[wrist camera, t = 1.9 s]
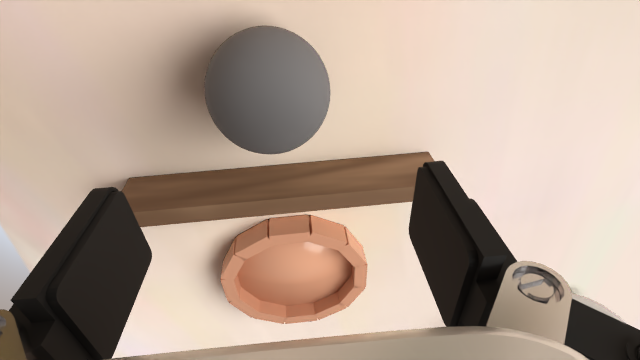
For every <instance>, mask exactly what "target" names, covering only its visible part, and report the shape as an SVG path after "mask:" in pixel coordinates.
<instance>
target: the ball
mask: <svg viewBox="0 0 640 360" xmlns="http://www.w3.org/2000/svg"><path fill="white" fill-rule="evenodd" d="M204 88H205V99H206V104H207V107H208V110H209V113H210V115H211V117H212V119H213V121H214V123H215V124H216V126H217V127H218V129H219V130H220V131H221V132H222V133H223V134H224V135H225V136H226V137H227V138H228V139H229V140H230V141H232V142H233V143H234V144H236V145H238V146H239V147H241V148H243V149H246V150H248V151H252V152H255V153H260V154H279V153H284V152H288V151H291V150H293V149H295V148H297V147H299V146H301V145H302V144H304V143H305V142H307V141H308V140H309V139H310V138H311V137H312V136H313V135H314V134H315V133H316V132H317V131H318V129H319V128H320V126H321V125H322V123H323V121H324V119H325V117H326V114H327V111H328V107H329V101H330V83H329V78H328V73H327V71H326V68H325V65H324V63H323V62H322V60H321V58H320V56H319V55H318V53H317V52H316V51H315V49H314V48H313V47H312V46H311V45H310V44H309V43H308V42H307V41H305V40H304V39H303V38H301V37H300V36H298V35H297V34H295V33H293V32H291V31H288V30H286V29H283V28H279V27H273V26H257V27H251V28H248V29H245V30H242V31H240V32H238V33H236V34H234V35H233V36H231V37H229V38H228V39H227V40H226V41H225V42H223V43H222V45H221V46H220V47H219V48H218V49H217V51H216V52H215V54H214V55H213V57H212V58H211V61H210V63H209V65H208V68H207V72H206V76H205V84H204Z"/></svg>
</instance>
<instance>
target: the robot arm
mask: <svg viewBox="0 0 640 360" xmlns="http://www.w3.org/2000/svg"><path fill="white" fill-rule="evenodd" d="M409 235H410V239H411V241H412V244H413V246H414V249H415V251H416V254H417V256H418V259H419V261H420V264H421V266H422V269H423V271H424V274H425V276H426V279H427V281H428V284H429V286H430V289H431V291H432V294H433V296H434V299H435V301H436V304H437V306H438V309H439V311H440V314H441V316H442V319H443V321H444V324H445V325H446V327H438V328H425V329H412V330H398V331H386V332H376V333H365V334H354V335H344V336H333V337H322V338H312V339H301V340H291V341H281V342H270V343H260V344H250V345H240V346H230V347H220V348H210V349H200V350H190V351H181V352H171V353H161V354H152V355H142V356H132V357H123V358H113V359H111V358H112V356H113V354H114V352H115V349H116V347H117V344H118V342H119V339H120V337H121V334H122V332H123V329H124V327H125V324H126V322H127V319H128V317H129V315H130V312H131V310H132V307H133V305H134V302H135V300H136V297H137V295H138V292H139V290H140V287H141V285H142V282H143V280H144V277H145V275H146V272H147V270H148V267H149V265H150V262H151V259H152V253H151V249H150V247H149V245H148V243H147V241H146V239H145V236H144V234H143V232H142V230H141V228H140V226H139V224H138V222H137V220H136V217H135V215H134V213H133V211H132V209H131V207H130V205H129V203H128V201H127V199H126V196H125V194H124V193H123V192H122V191H118V189H116V188H115V187H108V188H95V189H93V190H92V191H91V192H90V193H89V194H88V196H87V197H86V198H85V200H84V201H83V203H82V204H81V205H80V207H79V208H78V209H77V211H76V212H75V213H74V215H73V216H72V218H71V219H70V220H69V222H68V223H67V224H66V226H65V227H64V228H63V230H62V231H61V232H60V234H59V235H58V237H57V238H56V239H55V241H54V242H53V243H52V245H51V246H50V247H49V249H48V250H47V251H46V253H45V254H44V256H43V257H42V258H41V260H40V261H39V262H38V264H37V265H36V266H35V268H34V269H33V270H32V272H31V273H30V275H29V276H28V277H27V279H26V280H25V281H24V283H23V284H22V285H21V287H20V288H19V290H18V291H17V292H16V294H15V295H14V296H13V298H12V299H11V301H12V302H13V303H14V304H13V306H12V308H11V309H10V310H9V311H7V310H0V360H640V330H638V329H636V328H634V327H632V326H630V325H628V324H626V323H624V322H621V321H619V320H617V319H615V318H613V317H611V316H609V315H607V314H604V313H602V312H600V311H598V310H596V309H594V308H592V307H589V306H587V305H585V304H583V303H581V302H579V301H577V300H575V299H572V293H571V289H570V287H569V285H568V283H567V282H566V281H565V280H564V278H563V277H562V276H561V275H559V274H558V273H557V272H555V271H554V270H553V269H551V268H549V267H547V266H545V265H543V264H539V263H536V262H530V261H521V262H517V260H516V259H515V258H514V256H513V255H512V253H511V252H510V250H509V249H508V247H507V246H506V245H505V243H504V242H503V240H502V239H501V237H500V236H499V234H498V233H497V232H496V230H495V229H494V227H493V226H492V224H491V223H490V221H489V220H488V219H487V217H486V216H485V214H484V213H483V211H482V210H481V208H480V207H479V206H478V204H477V203H476V202H475V201H474V200H473V199H469V198H468V196H467V195H466V193H465V192H464V190H463V189H462V188H461V186H460V185H459V183H458V182H457V180H456V179H455V177H454V176H453V174H452V173H451V171H450V170H449V168H448V167H447V165H446V164H445V163H444V161H434V162H425V163H424V164H423V167H419V168H418V170H417V176H416V183H415V190H414V196H413V203H412V210H411V216H410V223H409Z"/></svg>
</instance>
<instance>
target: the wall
mask: <svg viewBox="0 0 640 360" xmlns="http://www.w3.org/2000/svg"><path fill="white" fill-rule="evenodd" d="M425 162H434V160H433V158H432V157H431V155H430V153H429V152H422V153H411V154H399V155H388V156H376V157H365V158H353V159H342V160H330V161H319V162H307V163H296V164H284V165H273V166H261V167H250V168H238V169H227V170H215V171H204V172H192V173H181V174H169V175H158V176H146V177H135V178H129V179H128V181H127V183H126V185H125V187H124V188H123V190H122V192H123V193H124V194H125V196H126V199H127V201H128V203H129V205H130V207H131V209H132V211H133V213H134V215H135V217H136V220H137V222H138V224H139V226H140V227H147V226H157V225H168V224H179V223H189V222H200V221H211V220H221V219H232V218H242V217H253V216H264V215H274V214H285V213H296V212H306V211H317V210H327V209H338V208H349V207H359V206H370V205H381V204H391V203H402V202H412V201H413V196H414V190H415V183H416V176H417V170H418V168H419V167H423V164H424V163H425Z"/></svg>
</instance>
